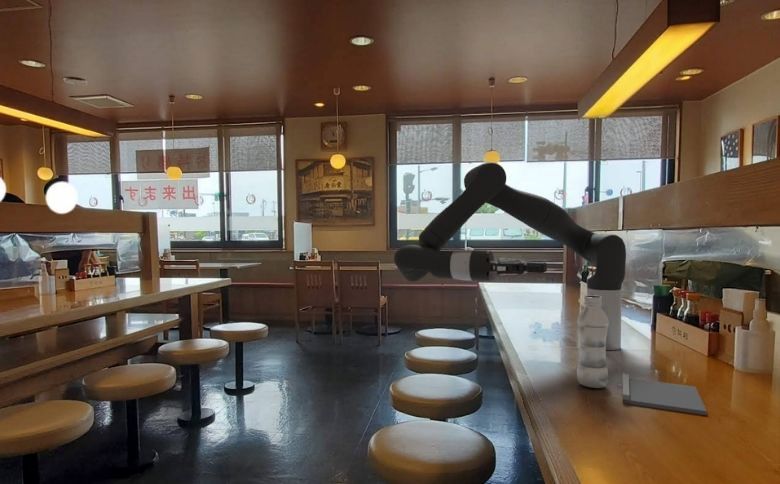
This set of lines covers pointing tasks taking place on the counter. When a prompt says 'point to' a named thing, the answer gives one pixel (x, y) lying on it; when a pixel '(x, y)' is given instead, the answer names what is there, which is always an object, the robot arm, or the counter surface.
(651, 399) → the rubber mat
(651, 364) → the counter surface
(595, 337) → the silver aluminum bottle
